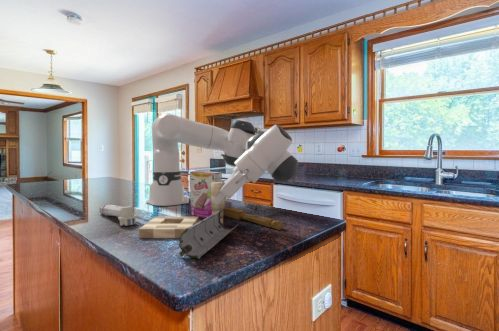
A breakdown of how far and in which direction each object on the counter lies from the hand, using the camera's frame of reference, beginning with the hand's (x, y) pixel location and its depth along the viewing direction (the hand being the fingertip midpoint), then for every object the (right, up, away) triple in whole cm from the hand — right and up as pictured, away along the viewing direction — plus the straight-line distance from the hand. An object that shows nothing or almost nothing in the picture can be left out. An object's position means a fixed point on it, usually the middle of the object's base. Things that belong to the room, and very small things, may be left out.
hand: (215, 200), depth 94 cm
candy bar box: (-5, -8, +17) cm, 19 cm away
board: (-13, -9, -1) cm, 16 cm away
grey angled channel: (+1, -9, -13) cm, 16 cm away
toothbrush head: (-36, -8, +13) cm, 39 cm away
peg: (0, -7, 0) cm, 8 cm away
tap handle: (+10, -9, +12) cm, 17 cm away
